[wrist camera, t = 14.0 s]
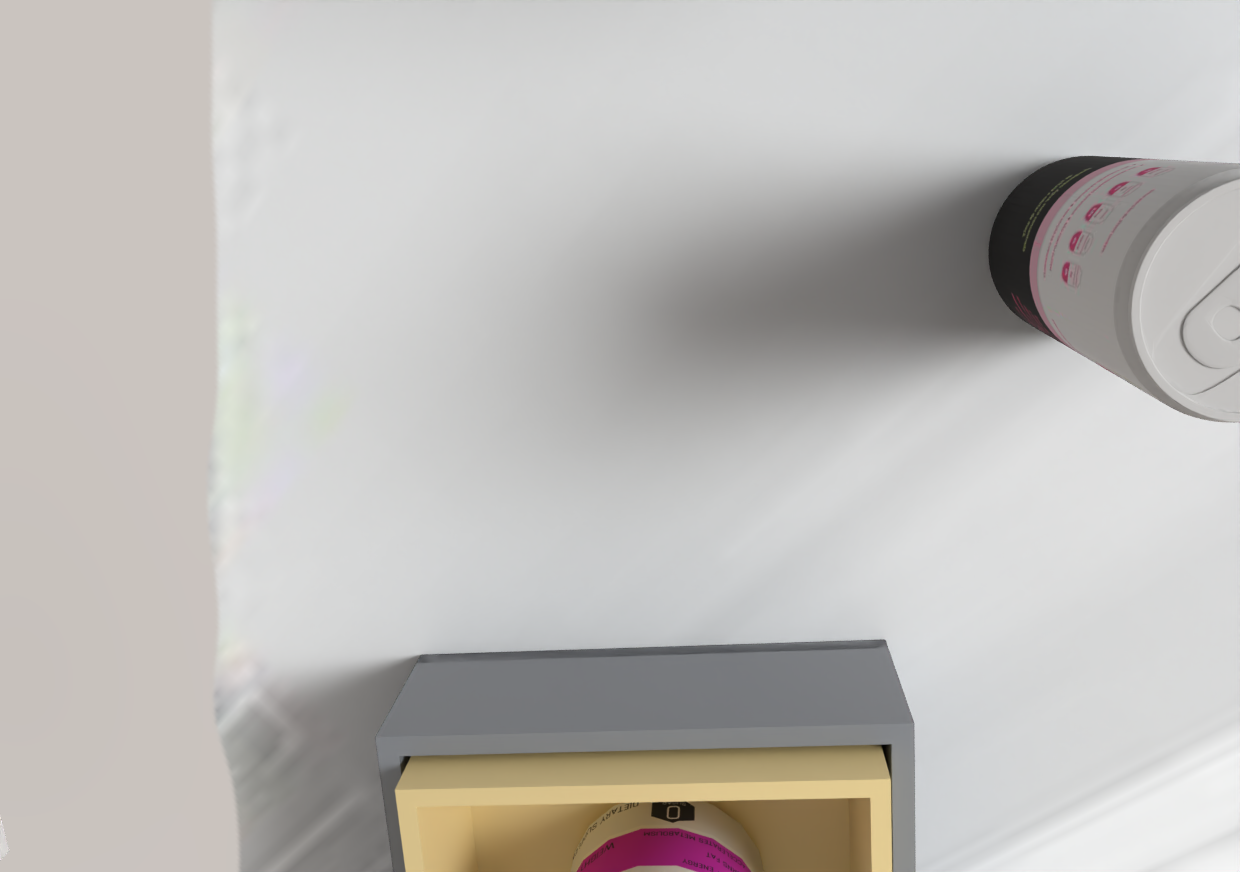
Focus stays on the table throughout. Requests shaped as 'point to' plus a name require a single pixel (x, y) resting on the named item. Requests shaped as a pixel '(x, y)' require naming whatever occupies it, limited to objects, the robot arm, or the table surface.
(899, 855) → the outer crate
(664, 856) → the supplement can
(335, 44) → the table surface
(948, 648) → the table surface
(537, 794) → the inner crate
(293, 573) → the table surface
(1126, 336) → the beverage can
